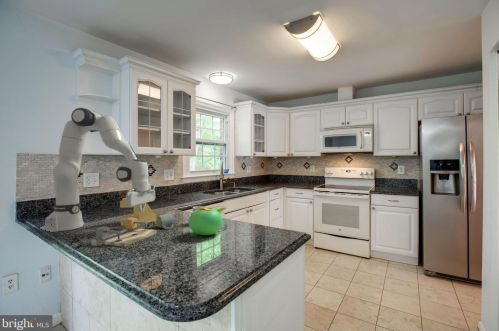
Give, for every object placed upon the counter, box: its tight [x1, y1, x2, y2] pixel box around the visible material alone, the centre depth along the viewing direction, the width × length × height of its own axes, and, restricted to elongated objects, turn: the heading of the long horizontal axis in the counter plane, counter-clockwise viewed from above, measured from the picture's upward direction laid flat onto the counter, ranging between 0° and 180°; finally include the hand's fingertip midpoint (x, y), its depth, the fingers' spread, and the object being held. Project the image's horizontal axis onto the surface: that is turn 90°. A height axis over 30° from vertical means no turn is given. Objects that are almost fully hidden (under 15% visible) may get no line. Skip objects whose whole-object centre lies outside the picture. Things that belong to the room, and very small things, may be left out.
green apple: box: [188, 206, 227, 236], centre depth 128 cm, size 18×17×15 cm
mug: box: [190, 205, 208, 215], centre depth 149 cm, size 11×8×10 cm
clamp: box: [119, 197, 157, 227], centre depth 155 cm, size 20×9×16 cm, turn 136°
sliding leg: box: [125, 218, 148, 229], centre depth 132 cm, size 12×4×5 cm, turn 73°
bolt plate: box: [103, 228, 158, 248], centre depth 122 cm, size 12×22×2 cm, turn 163°
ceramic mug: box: [156, 212, 175, 230], centre depth 142 cm, size 11×8×8 cm
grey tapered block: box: [90, 226, 139, 247], centre depth 123 cm, size 12×26×7 cm, turn 163°
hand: (141, 211), depth 140 cm, fingers closed
